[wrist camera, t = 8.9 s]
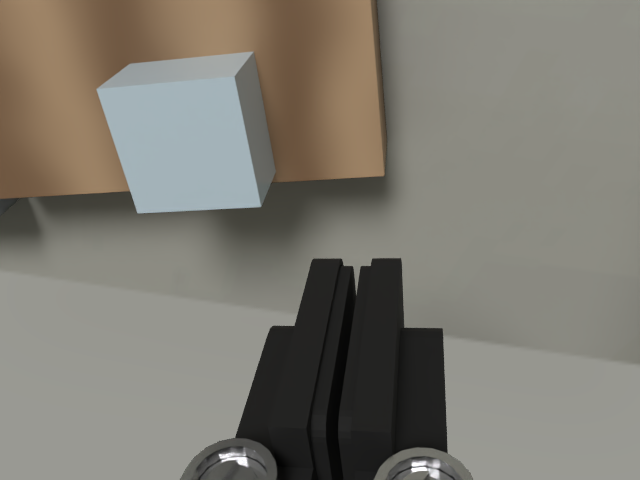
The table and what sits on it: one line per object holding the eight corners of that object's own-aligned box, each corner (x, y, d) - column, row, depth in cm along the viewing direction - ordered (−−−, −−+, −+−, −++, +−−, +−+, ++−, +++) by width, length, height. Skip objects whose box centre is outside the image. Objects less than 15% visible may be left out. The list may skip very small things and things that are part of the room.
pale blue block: (253, 51, 22) (234, 76, 20) (275, 171, 25) (261, 206, 23) (129, 63, 23) (96, 89, 21) (163, 178, 26) (137, 213, 23)
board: (355, -284, 20) (346, -308, 17) (386, 141, 27) (384, 175, 25) (-135, -189, 23) (-214, -195, 20) (19, 167, 31) (-22, 200, 28)
